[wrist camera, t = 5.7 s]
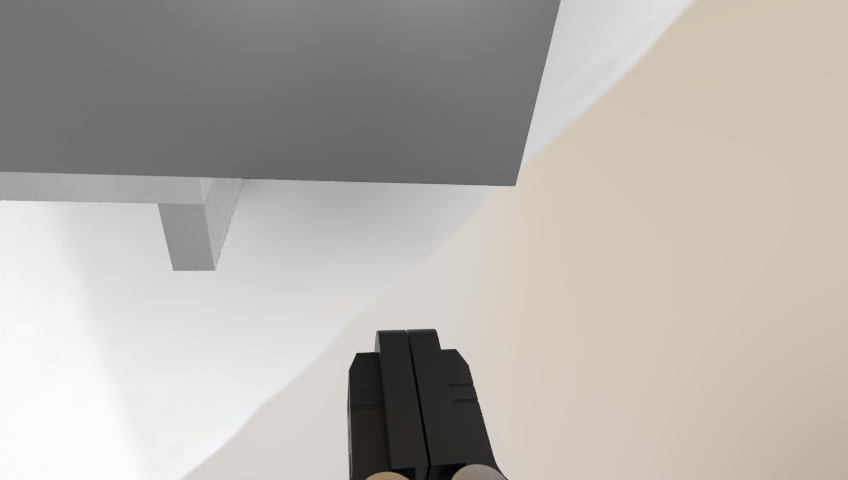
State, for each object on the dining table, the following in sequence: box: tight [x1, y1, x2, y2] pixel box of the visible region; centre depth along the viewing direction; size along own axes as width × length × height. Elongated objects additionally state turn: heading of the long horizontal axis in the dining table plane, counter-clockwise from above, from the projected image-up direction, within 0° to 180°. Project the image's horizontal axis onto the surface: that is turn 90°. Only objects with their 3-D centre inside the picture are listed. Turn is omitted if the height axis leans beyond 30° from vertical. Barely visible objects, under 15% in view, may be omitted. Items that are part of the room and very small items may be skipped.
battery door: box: [0, 172, 243, 271], centre depth 20 cm, size 4×10×7 cm, turn 84°
